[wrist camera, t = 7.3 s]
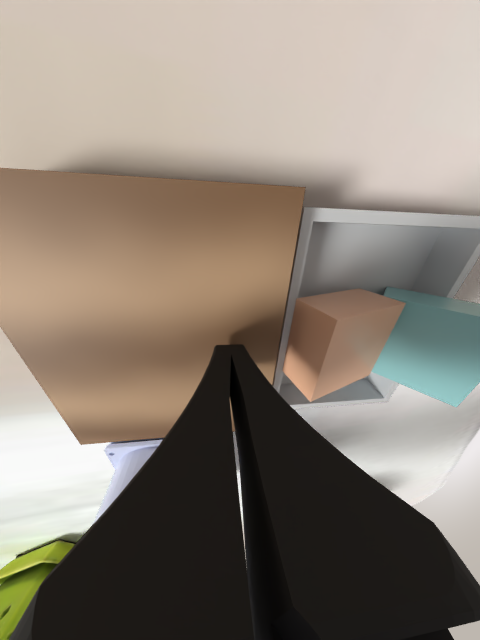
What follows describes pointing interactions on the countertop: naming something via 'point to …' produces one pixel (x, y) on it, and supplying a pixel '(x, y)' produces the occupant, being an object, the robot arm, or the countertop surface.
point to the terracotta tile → (337, 339)
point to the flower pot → (25, 582)
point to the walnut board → (139, 289)
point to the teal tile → (433, 346)
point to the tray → (373, 273)
